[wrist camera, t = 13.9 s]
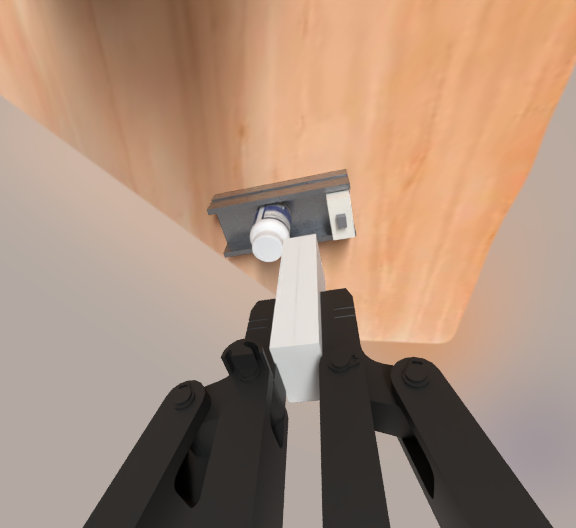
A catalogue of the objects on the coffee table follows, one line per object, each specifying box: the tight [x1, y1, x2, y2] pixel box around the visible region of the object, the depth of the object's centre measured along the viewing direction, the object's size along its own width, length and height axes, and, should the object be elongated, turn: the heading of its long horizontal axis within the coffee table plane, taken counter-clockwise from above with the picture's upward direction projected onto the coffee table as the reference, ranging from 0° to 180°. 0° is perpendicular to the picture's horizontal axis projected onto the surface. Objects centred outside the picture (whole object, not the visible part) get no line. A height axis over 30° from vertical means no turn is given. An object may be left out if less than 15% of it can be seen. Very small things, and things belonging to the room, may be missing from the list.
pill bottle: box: [250, 202, 291, 262], centre depth 46 cm, size 5×5×10 cm
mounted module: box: [326, 189, 355, 240], centre depth 46 cm, size 6×3×6 cm, turn 13°
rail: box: [207, 169, 356, 257], centre depth 50 cm, size 8×20×5 cm, turn 103°
